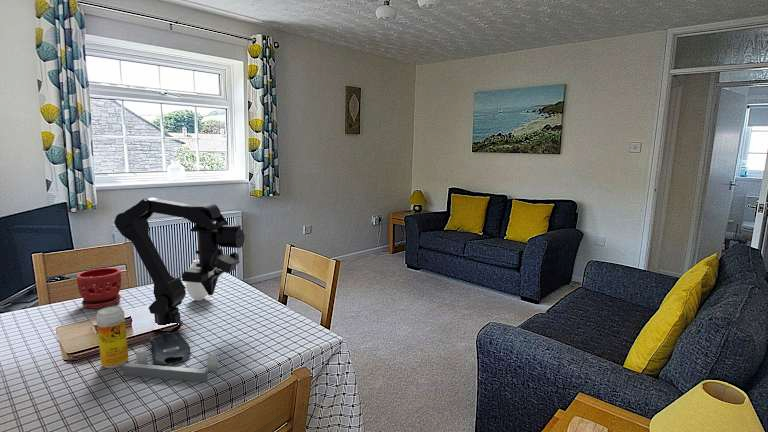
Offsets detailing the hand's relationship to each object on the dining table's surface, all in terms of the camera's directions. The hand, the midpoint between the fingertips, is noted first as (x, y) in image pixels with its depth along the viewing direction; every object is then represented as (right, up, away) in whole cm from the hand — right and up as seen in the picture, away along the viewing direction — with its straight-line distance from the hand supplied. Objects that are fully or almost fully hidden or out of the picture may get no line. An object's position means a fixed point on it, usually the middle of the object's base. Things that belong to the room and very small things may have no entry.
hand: (211, 294), depth 127 cm
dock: (-1, -16, -21) cm, 26 cm away
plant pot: (-48, -8, +22) cm, 54 cm away
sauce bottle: (-16, -7, +27) cm, 32 cm away
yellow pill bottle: (-18, -15, -18) cm, 29 cm away
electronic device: (-7, -15, -12) cm, 20 cm away
